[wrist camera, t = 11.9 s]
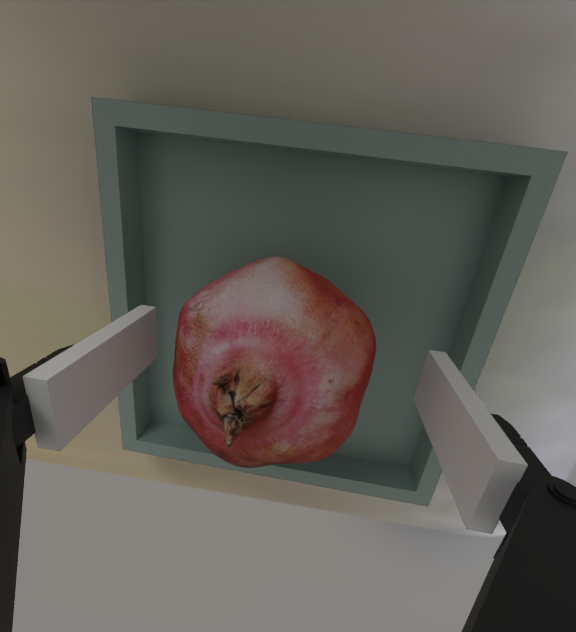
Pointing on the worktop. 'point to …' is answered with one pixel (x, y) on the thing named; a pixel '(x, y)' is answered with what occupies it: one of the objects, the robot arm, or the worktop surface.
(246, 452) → the fruit
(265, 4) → the worktop surface
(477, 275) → the tray
